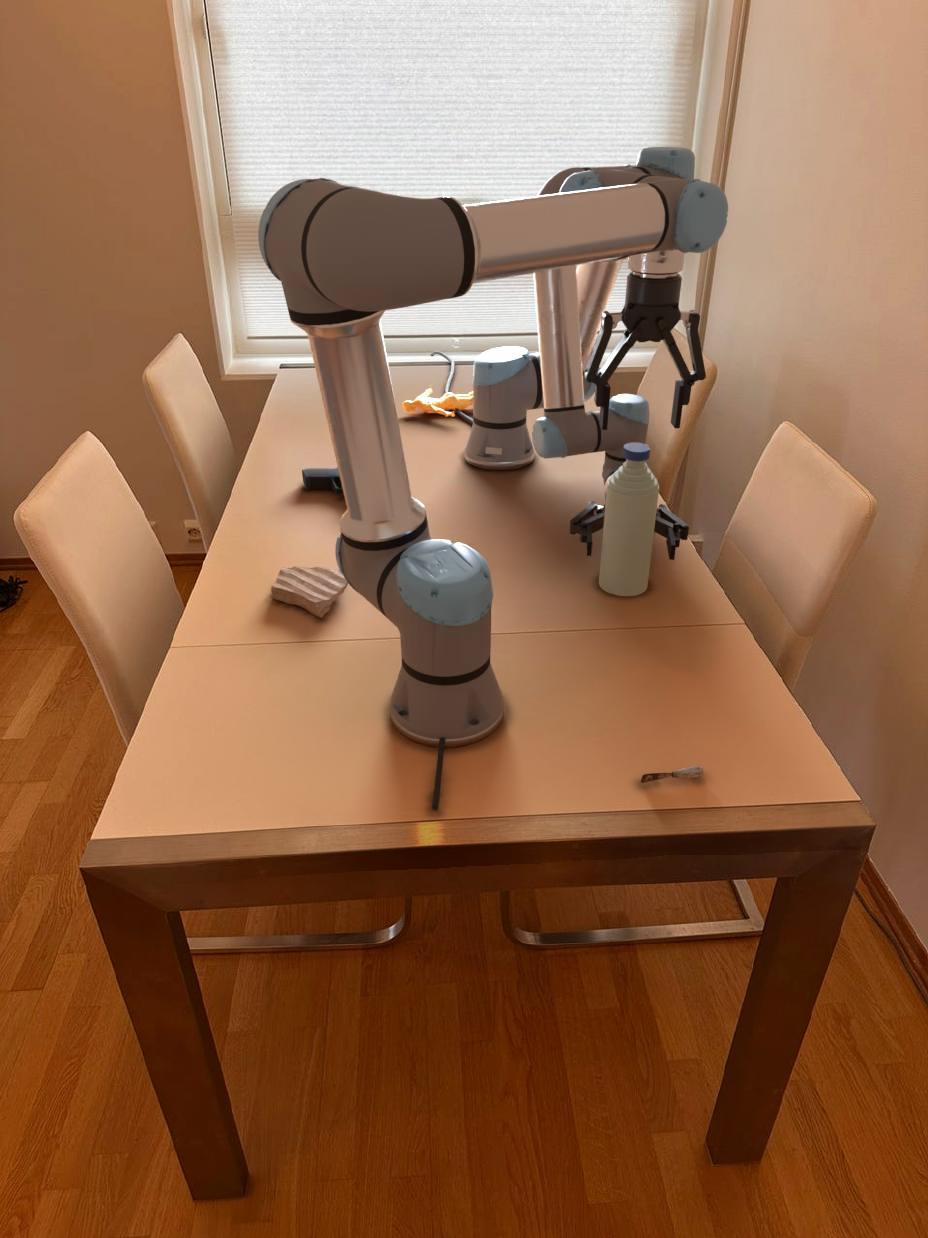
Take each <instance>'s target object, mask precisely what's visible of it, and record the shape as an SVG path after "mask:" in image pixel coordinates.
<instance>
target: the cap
mask: <svg viewBox="0 0 928 1238" xmlns="http://www.w3.org/2000/svg"><path fill="white" fill-rule="evenodd" d="M650 456H651V446H650V445H648V444H643V443H628V444H625V445H624V450H623V457H624V458H625V459H627V460H631V461H645V462H646V461H647V460H649V459H650Z"/></svg>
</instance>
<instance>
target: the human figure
mask: <svg viewBox="0 0 928 1238" xmlns="http://www.w3.org/2000/svg"><path fill="white" fill-rule="evenodd" d="M424 391H425V392H423V393H422V394H420V395H418V396H416V398H415V399H414V400H404V401H403V402H402V411H404V412H405V413H410V414H412V413H414V412H417V408H418V409H420V410H421V411H423V412H424V413H427V414H439V415H443V416H444V417H449V416H450V417H451V418H452V417H453V418H454V417H455V416H456V414H455V413H456V412H455V411H454V410H455V409H458V410H459V411H462V410H464V409H467V408H469V407H471V406H473V391H470V392H469V393H468V394H460V393H457V394H455V393H453V392H449V393H446V394H445V393H444V394H443V395H442V396H441V397H440V398H434V397H429V396H430V395H432V394H433V392H434V391H433V389H432V385H429V387H428V389H424ZM450 410H452V411H450Z"/></svg>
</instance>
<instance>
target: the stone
mask: <svg viewBox="0 0 928 1238" xmlns="http://www.w3.org/2000/svg"><path fill="white" fill-rule="evenodd" d="M348 586H349V584H348V582H347V581H346V579H345V578H344V576H343V575H342V573H341V571H340V570H339V569H335V568H331V567H329V566H314V567H307V566H302V565H301V566H299V565H297V566H295V565H294V566H292V567H282V568H280V569H279V573H278V574H277V577H276V580H275V583H274V584H273V585H272V586H271V587H270V592H271V593H270V598H271V599H274V600H276V601H279V602H283V603H286V604H288V605H294V606H297V607H301V608H303V609H304V610H306V611H308V612H309V613H310V614H312V615H314V616H315V617H317V618H321V619H322V618H323V617H324V616H325V615H326V614H328V613H329V612H330V610H331V607H332V604H333V603H334V601H335V600H337V599H338V597H339V596H340V595H342V594H343V593H344V592H345V590H346V589H347V587H348Z"/></svg>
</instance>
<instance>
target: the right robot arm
mask: <svg viewBox="0 0 928 1238" xmlns="http://www.w3.org/2000/svg"><path fill="white" fill-rule="evenodd" d="M633 167H636V164H633V165H631V164H630V163H626V164H624V165H615V166H614V165H612V166H571V167H567V168H565V169H564V168H563V169H562V170H560V171H558V172H556V173H554V174H553V175H552V176H551V177H549V179H548V180H547V181H546V182H545V183H544V184H543V185H542V187H541V188H540V189H539V191H538V193H537V195H536V196H543V195H551V194H558V193H560V190H561V187H562V185H563V183H564V182H565V180H566V179H567V178H568V177H569V176H570V175H572V174H574V173H578V172H585V171H588V170H590V169H593V170H607V169H624V168H633ZM626 259H629V256H626V257H620V258H615V259H609V260H604V261H598V262H592V263H587V264H581V265H576V266H570V267H564V268H559V269H553V270H547V271H542V272H536V273H532V277H533V289H534V301H535V314H536V326H537V327H536V328H537V338H538V339H537V340H538V351H539V352H533V353H529V351H528V349H526V348H524V347H521V346H515V345H514V346H508V345H507V346H501V347H495V348H490V349H488V350H485V351H484V352H481V353H480V354H479V355H477V357H476V358H475V360H474V362H473V371H472V372H473V373H472V378H471V382H472V392H473V405H472V417H470V416H469V415H466V414H465V413H463V412H462V410H458V409H455V410H453V411H455V412H454V413H456V414H457V415H458V416H459V417H461V418H462V419H464V420H465V421H467V422H468V423H470V424H472V426H471V428H470V431H469V435H468V438H467V441H466V444H465V448H464V459H465V461H466V462H467V463H468V464H470V465H471V466H474V467H476V468H479V469H483V470H490V471H510V470H515V469H516V470H517V469H520V468H523V467H526V466H528V465H530V464H531V463H533V460H534V455H535V453H534V452H536V454H537V455H538V456H539V457H540V458H543V459H557V458H561V459H564V458H566V457H567V458H568V457H573V456H579V455H586V454H593V453H600V452H604V462H603V464H602V472H601V475H602V480H603V490H604V493H603V494H604V504H603V505H598V504H596V501H594V500H590V501H588V504H587V506H586V507H585V508H584V509H582V510H581V511H580V512H578V513H577V514H576V515H575V516H573V518H571V519H570V520H569V531H568V533H569V535H570V536H575V535H578V536H579V543H581V544H585V545H586V547H585V549H586V557H592V549H593V534H594V533H597V532H599V531H602V530H603V527H604V515H605V504H606V492H607V483H608V481H609V480H610V477H611V476H612V475H613V474H614V473H615V471H617V470H618V469H619V467H620V466H622V465H623V463H624V462H626V459H625V458H624V457H623V450H624V445H625V444H628V443H643V444H646V442H647V436H648V429H649V424H650V403H649V401H648V400H647V399H646V398H645V397H643V396H641V395H637V394H632V393H621V394H617V395H613V396H612V397H610V402H609V414H608V426H607V430H602V428H601V426H600V424H599V419H600V410H593V411H586V408H585V407H586V406H585V402H587V401H589V400H590V399H591V398H592V397H593V396H594V395H595V384H594V383H591V382H587V380H586V379H585V377H584V371H585V368H586V366H587V363H588V360H589V358H590V355H591V352H592V350H593V346H594V343H595V340H596V338H597V337H596V336H597V335H598V334H597V333H598V331H599V329H600V326H601V315H602V313H603V312H604V311H606V308H607V306H608V303H609V300H610V297H611V295H612V293H613V290H614V287H615V283H616V280H617V278H618V275H619V273H620V269H621V268H622V267H621V266H622V264H623V262H624V260H626ZM435 355H438V356H441V357H442V358H443V359H446V360H447V362H450V372H449V374H448V379H447V381H446V384H445V389H444V394H446V393H450V387H451V383H452V380H453V377H454V374H455V366H456V364H455V361H454V359H452V357H450V356H449V355H448V354H446V353H444V352H442V351H439V350H433V351H432V352H431V354H430V356H429V357H434V356H435ZM599 370H600V367H599V368H598V371H597V373H598V372H599ZM540 409H543V416H542V417H539V418H537V419H536V420H535V421H534V422H533V425H532V432H531V435H530V432H529V429H528V426H527V413H528V411H530V410H540ZM531 439H532V440H531ZM646 445H647V444H646ZM689 531H690V525H689V524H687V523H686V522H685V521H683V520H682V519H681V518H680V517H678V516H677V515H676V514H675V513H673V512H672V511H670V510H669V509H668V507H667V505H665V504H664V503H660V504H658V506H657V511H656V519H655V528H654V534H655V533H656V534H658V536H659V535H660V536H661V537H663V538H665V539H666V540H665V544H666V548H667V554H668V560H670V561H675V558H676V557H675V556H676V550H677V548H678V549H679V547H680V545H681V541H687V540H688V538H689Z"/></svg>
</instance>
